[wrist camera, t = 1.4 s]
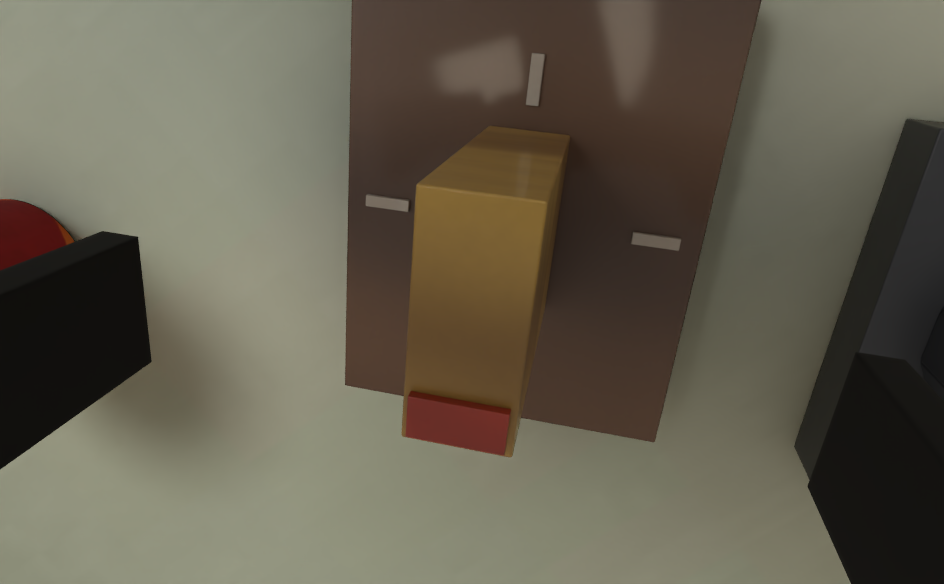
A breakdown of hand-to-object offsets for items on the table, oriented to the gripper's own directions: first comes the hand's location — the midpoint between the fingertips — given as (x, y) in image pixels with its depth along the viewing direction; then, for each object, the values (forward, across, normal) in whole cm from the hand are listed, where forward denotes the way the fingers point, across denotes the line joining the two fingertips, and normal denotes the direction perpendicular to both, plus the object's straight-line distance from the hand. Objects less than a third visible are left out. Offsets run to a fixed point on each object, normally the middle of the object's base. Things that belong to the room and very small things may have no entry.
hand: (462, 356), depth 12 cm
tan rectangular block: (+9, 0, 0) cm, 9 cm away
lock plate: (+12, 0, 0) cm, 12 cm away
